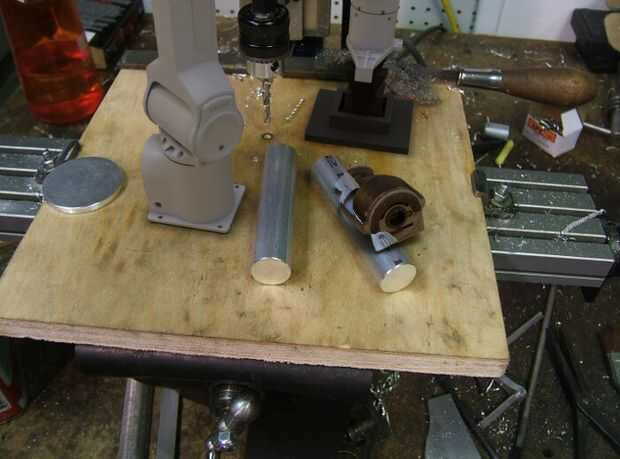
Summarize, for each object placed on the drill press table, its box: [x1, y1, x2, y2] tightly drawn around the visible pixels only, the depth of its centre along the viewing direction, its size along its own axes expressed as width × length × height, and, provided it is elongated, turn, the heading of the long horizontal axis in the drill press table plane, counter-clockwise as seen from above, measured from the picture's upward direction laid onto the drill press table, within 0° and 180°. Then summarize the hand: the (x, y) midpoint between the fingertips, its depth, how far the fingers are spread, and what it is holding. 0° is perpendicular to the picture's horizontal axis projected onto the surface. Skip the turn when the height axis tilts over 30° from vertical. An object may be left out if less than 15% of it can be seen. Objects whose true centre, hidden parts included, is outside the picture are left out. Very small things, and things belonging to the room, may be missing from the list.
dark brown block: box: [344, 81, 387, 117], centre depth 77 cm, size 5×4×4 cm
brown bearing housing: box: [338, 165, 426, 243], centre depth 63 cm, size 7×13×10 cm
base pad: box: [304, 87, 414, 155], centre depth 78 cm, size 14×12×3 cm
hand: (363, 102), depth 77 cm, fingers closed on dark brown block, 4 cm apart
